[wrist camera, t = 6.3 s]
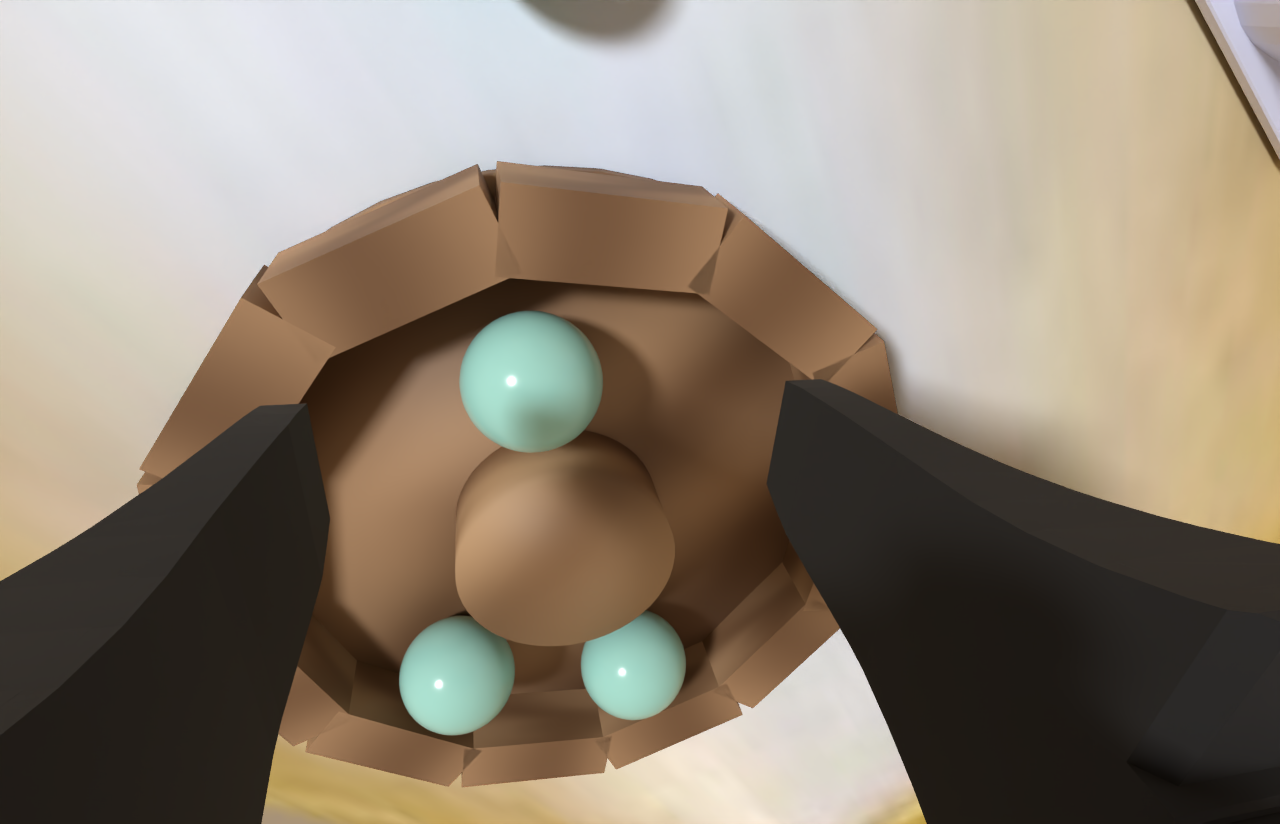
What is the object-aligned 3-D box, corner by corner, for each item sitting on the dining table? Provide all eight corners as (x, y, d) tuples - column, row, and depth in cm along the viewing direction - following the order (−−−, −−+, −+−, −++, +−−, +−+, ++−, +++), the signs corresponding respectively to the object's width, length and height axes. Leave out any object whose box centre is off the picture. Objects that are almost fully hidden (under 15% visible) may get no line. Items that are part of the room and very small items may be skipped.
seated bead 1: (532, 614, 23) (541, 702, 20) (474, 678, 24) (476, 771, 21) (440, 578, 22) (437, 667, 19) (382, 648, 23) (371, 743, 20)
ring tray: (974, 413, 24) (1035, 464, 21) (610, 766, 29) (623, 838, 27) (446, -40, 14) (443, -45, 12) (61, 605, 20) (4, 694, 18)
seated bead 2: (690, 607, 25) (720, 688, 22) (630, 668, 26) (651, 754, 23) (615, 572, 23) (636, 655, 20) (554, 639, 24) (566, 727, 21)
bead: (580, 278, 18) (606, 333, 15) (597, 394, 20) (623, 463, 17) (443, 303, 17) (444, 365, 14) (473, 419, 19) (479, 495, 16)
